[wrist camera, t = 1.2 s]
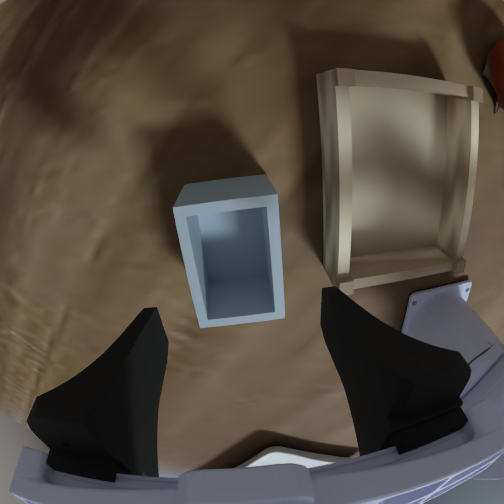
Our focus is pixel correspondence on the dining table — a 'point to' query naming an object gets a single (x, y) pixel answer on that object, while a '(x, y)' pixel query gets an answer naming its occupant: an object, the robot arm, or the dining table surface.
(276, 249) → the small crate
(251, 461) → the salad plate
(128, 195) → the dining table surface
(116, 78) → the dining table surface
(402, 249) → the pine crate
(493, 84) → the fruit
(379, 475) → the robot arm
